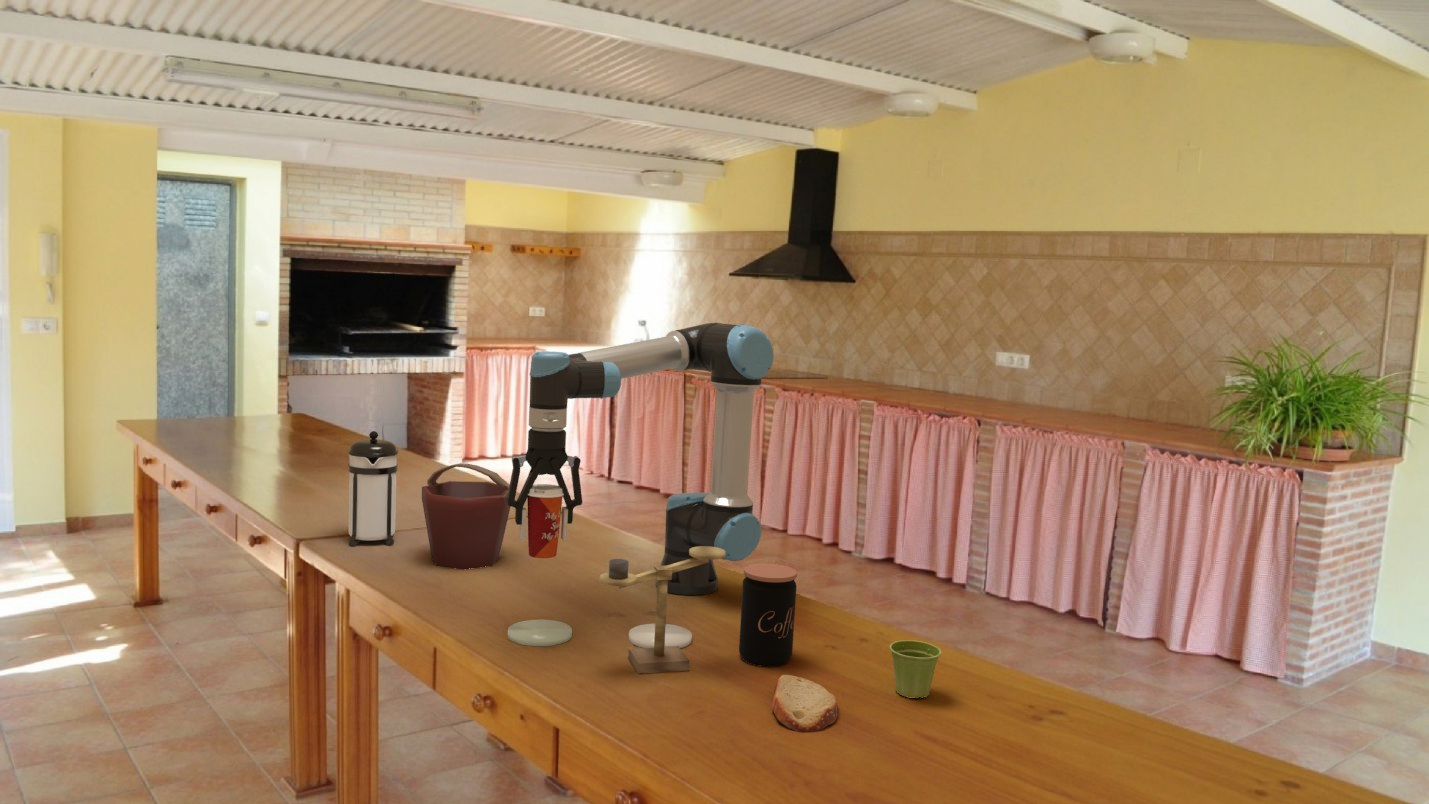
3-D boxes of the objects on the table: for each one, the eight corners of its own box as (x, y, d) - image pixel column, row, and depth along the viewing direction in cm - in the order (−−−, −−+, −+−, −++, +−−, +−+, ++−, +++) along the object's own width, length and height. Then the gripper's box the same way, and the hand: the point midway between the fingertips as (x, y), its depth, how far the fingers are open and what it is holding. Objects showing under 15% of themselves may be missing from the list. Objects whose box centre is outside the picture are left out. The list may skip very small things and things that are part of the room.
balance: (712, 653, 209) (718, 545, 207) (724, 668, 202) (731, 555, 199) (592, 660, 202) (596, 548, 199) (600, 676, 194) (605, 559, 192)
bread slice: (790, 681, 198) (792, 662, 197) (869, 711, 186) (870, 691, 185) (726, 705, 185) (727, 685, 184) (805, 739, 173) (807, 717, 172)
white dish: (681, 627, 224) (682, 622, 224) (699, 648, 212) (699, 642, 212) (622, 630, 220) (622, 625, 220) (636, 651, 208) (637, 646, 208)
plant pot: (927, 708, 188) (930, 661, 187) (878, 695, 192) (881, 649, 192) (945, 692, 195) (948, 647, 194) (897, 680, 200) (901, 636, 199)
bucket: (528, 564, 268) (532, 467, 265) (456, 579, 251) (459, 476, 248) (470, 545, 283) (472, 454, 280) (398, 558, 266) (400, 461, 264)
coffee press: (415, 540, 285) (417, 431, 282) (367, 551, 271) (369, 437, 268) (372, 529, 294) (374, 424, 291) (324, 539, 281) (326, 429, 277)
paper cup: (553, 561, 208) (556, 492, 207) (517, 557, 210) (520, 488, 208) (567, 552, 216) (570, 485, 214) (532, 548, 217) (534, 482, 216)
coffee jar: (755, 670, 201) (760, 579, 199) (728, 652, 211) (733, 565, 209) (802, 664, 206) (807, 575, 204) (774, 646, 216) (779, 561, 214)
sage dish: (566, 623, 223) (566, 618, 222) (576, 644, 210) (577, 638, 210) (504, 626, 219) (504, 621, 219) (511, 648, 206) (511, 642, 206)
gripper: (497, 430, 203) (493, 545, 206) (601, 431, 209) (596, 543, 212) (493, 425, 210) (490, 536, 213) (594, 426, 216) (589, 534, 219)
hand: (543, 539), depth 212 cm, fingers closed on paper cup, 8 cm apart
